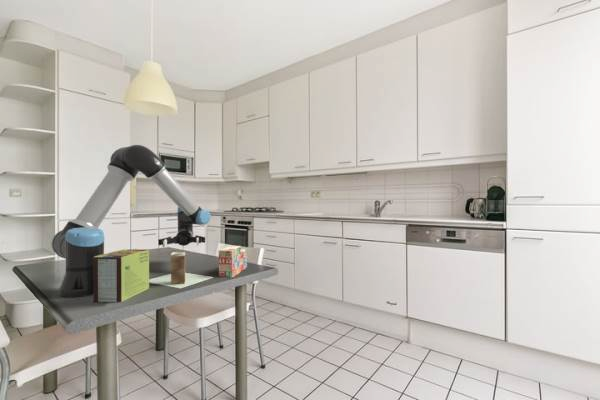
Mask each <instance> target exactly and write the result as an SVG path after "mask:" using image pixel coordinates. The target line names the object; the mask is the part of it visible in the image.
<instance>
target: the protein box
mask: <svg viewBox="0 0 600 400" xmlns="http://www.w3.org/2000/svg"><path fill="white" fill-rule="evenodd" d="M149 279H150V250H149V249H145V248H144V249H142V248H141V249H137V248H135V249H134V248H133V249H131V248H129V249H128V248H125V249H120V250H115V251H111V252H107V253H104V254H103V255H99V256H95V257H93V294H92V295H93V301H92V302H93V303H98V304H99V303H101V304H107V303H110V302H114V303H116V302H117V303H118V302H119V303H122V302H124V301H126V300H128V299H130V298H132V297H134V296H136V295H138V294H141V293H142V292H144V291H146V290H149V289H150V283H149Z"/></svg>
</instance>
